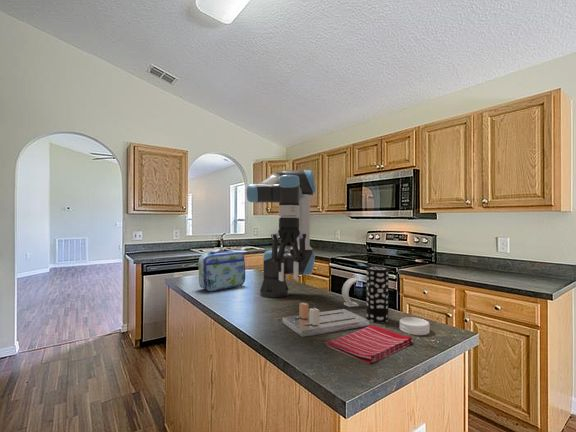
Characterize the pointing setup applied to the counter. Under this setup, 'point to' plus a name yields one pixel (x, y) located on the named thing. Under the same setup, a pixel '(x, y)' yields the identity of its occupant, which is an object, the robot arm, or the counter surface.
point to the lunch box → (221, 270)
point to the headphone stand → (346, 292)
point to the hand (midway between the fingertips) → (288, 279)
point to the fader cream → (314, 316)
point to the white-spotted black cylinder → (377, 294)
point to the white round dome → (414, 326)
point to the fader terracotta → (303, 310)
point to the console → (326, 322)
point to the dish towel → (370, 344)
